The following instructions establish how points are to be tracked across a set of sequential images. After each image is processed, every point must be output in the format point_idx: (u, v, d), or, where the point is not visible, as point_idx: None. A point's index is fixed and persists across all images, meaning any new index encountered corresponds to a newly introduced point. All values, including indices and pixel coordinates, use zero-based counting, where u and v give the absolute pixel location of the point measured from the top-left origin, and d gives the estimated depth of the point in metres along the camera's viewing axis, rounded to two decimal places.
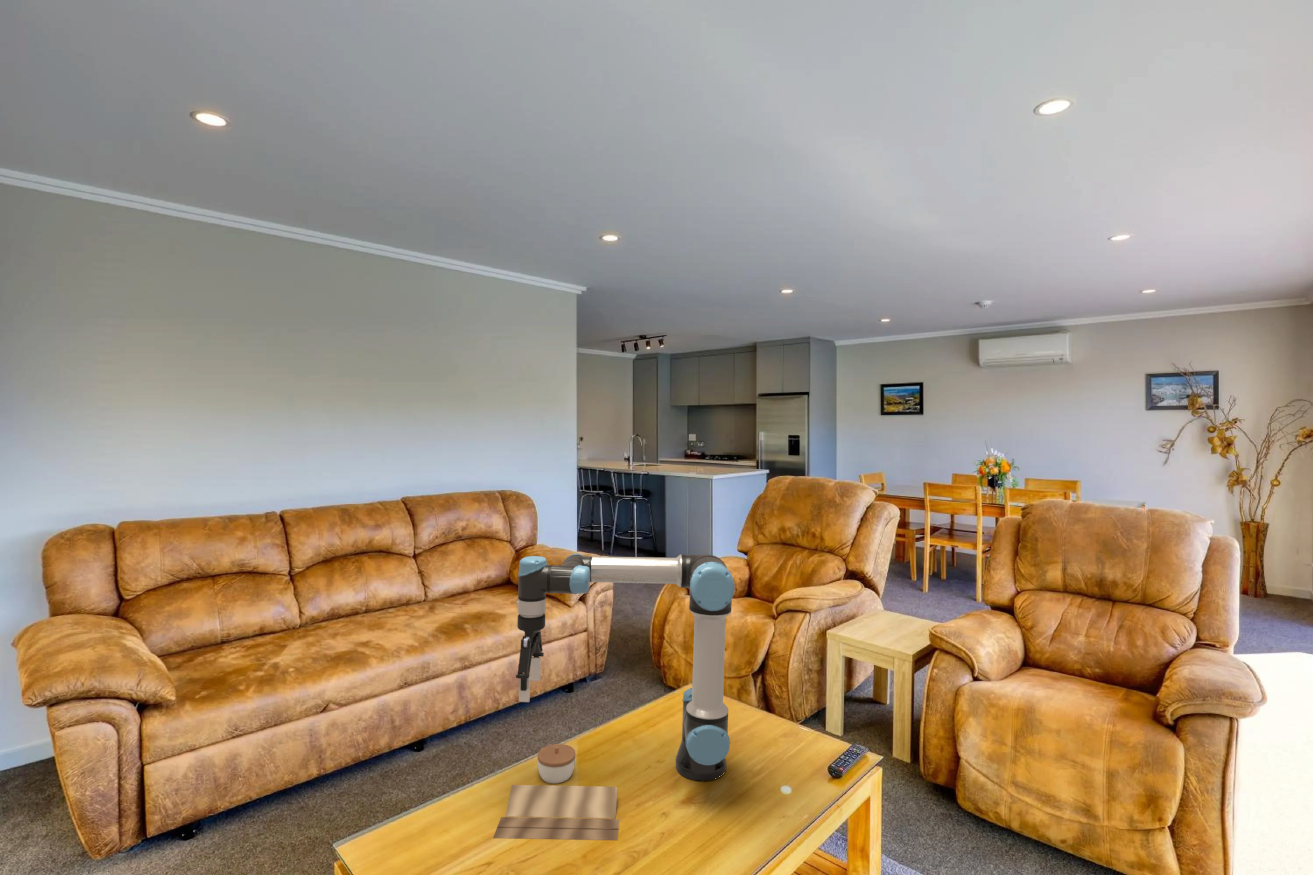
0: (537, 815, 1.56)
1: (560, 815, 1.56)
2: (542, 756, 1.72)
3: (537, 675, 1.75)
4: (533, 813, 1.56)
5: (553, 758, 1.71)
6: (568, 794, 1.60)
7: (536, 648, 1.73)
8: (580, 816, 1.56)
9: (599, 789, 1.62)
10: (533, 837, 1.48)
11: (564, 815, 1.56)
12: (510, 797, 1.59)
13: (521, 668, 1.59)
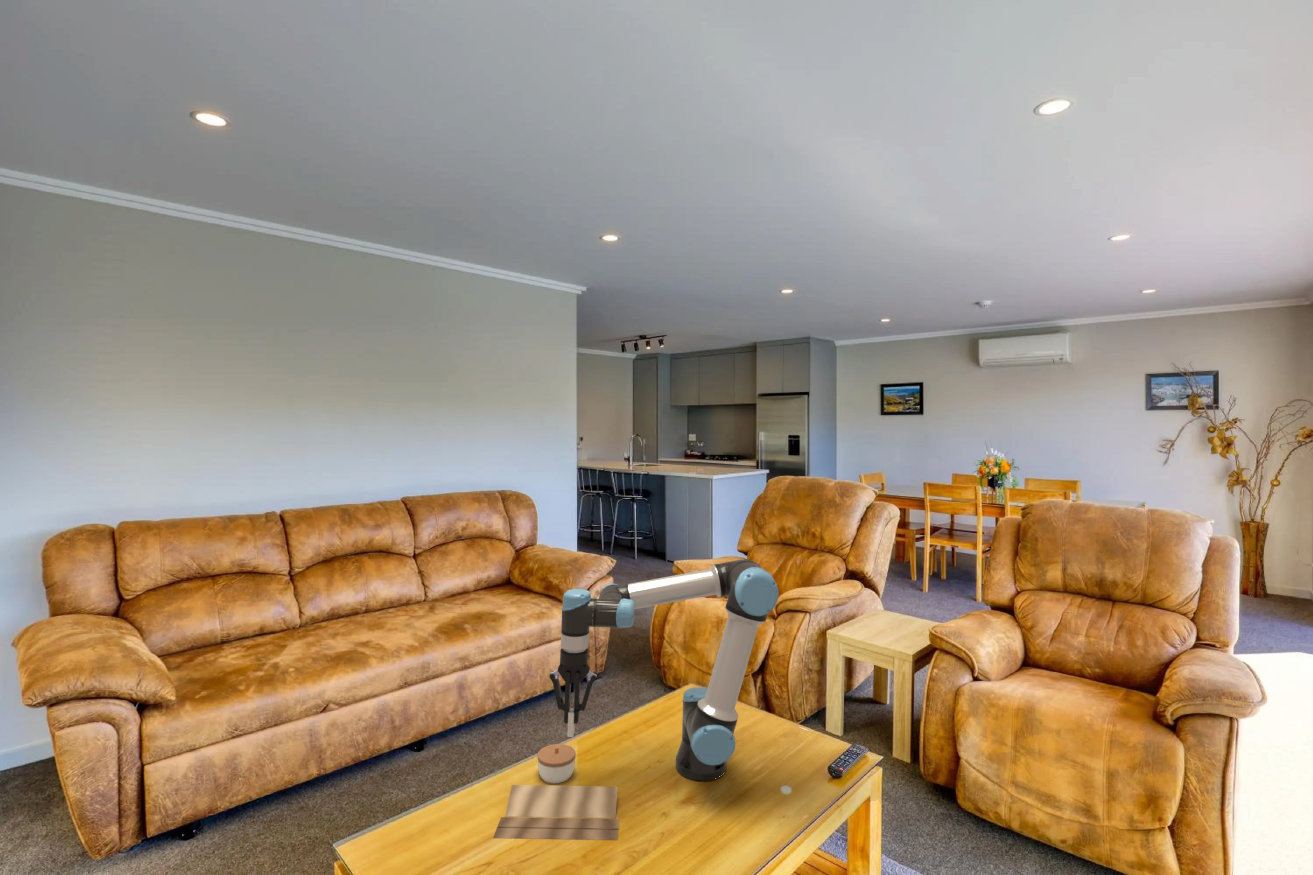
0: (537, 815, 1.56)
1: (560, 815, 1.56)
2: (542, 756, 1.72)
3: None
4: (533, 813, 1.56)
5: (553, 758, 1.71)
6: (568, 794, 1.60)
7: None
8: (580, 816, 1.56)
9: (599, 789, 1.62)
10: (533, 837, 1.48)
11: (564, 815, 1.56)
12: (510, 797, 1.59)
13: None
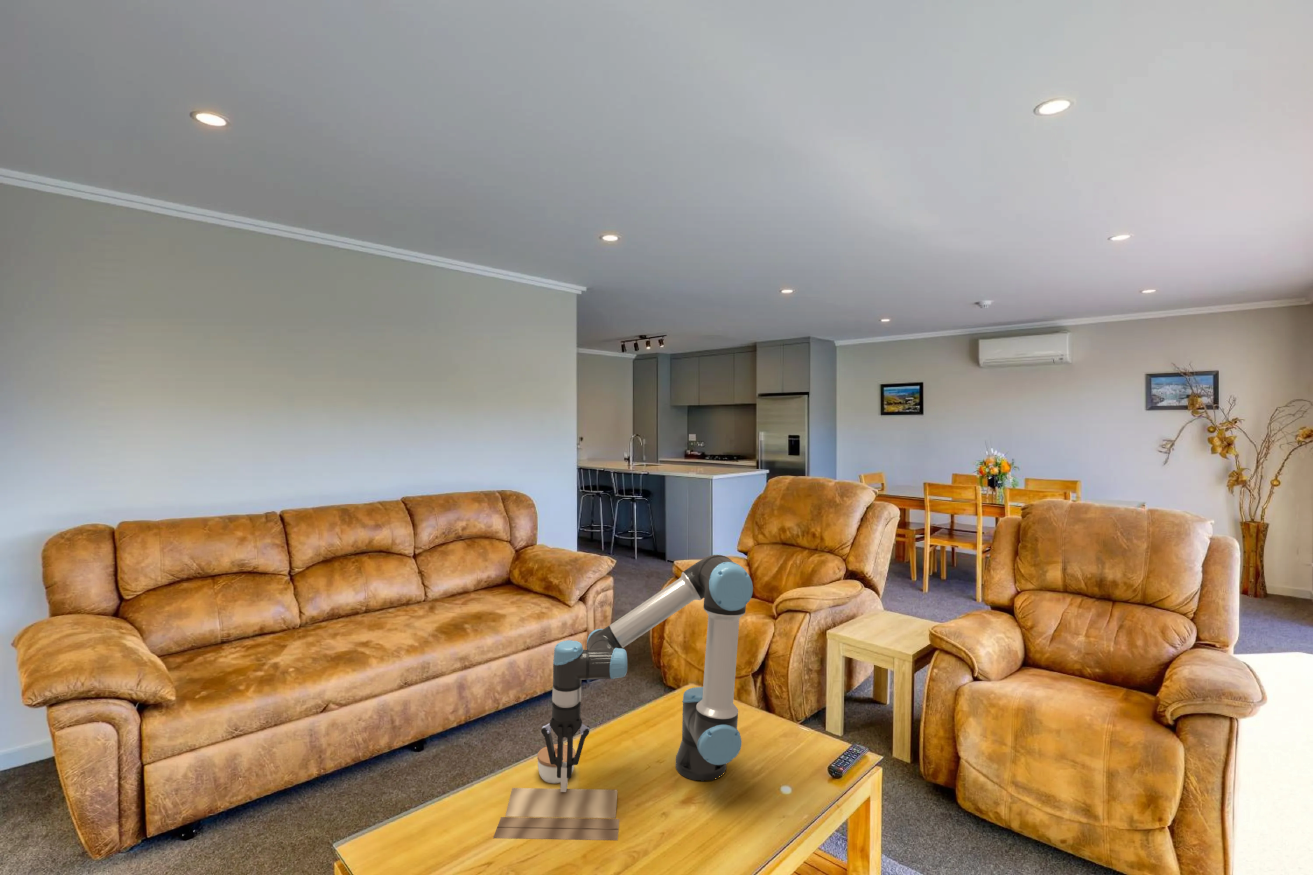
0: (537, 815, 1.56)
1: (560, 815, 1.56)
2: (542, 756, 1.72)
3: None
4: (533, 813, 1.56)
5: None
6: (568, 797, 1.61)
7: (567, 748, 1.62)
8: (580, 816, 1.56)
9: (599, 792, 1.62)
10: (533, 837, 1.48)
11: (564, 815, 1.56)
12: (510, 799, 1.60)
13: None
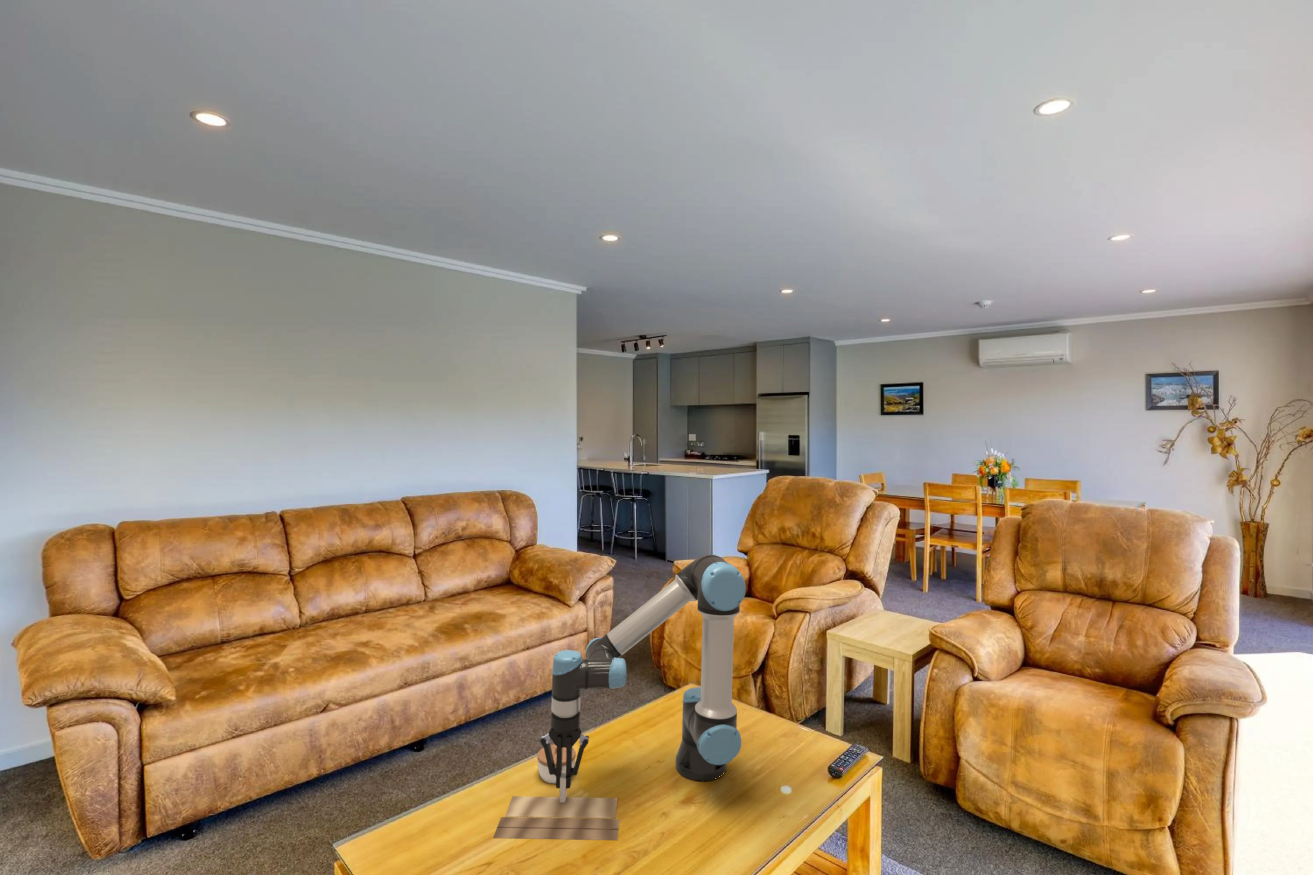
0: (537, 816, 1.56)
1: (560, 816, 1.56)
2: (542, 756, 1.72)
3: None
4: (533, 814, 1.56)
5: (553, 758, 1.71)
6: (568, 802, 1.61)
7: None
8: (580, 816, 1.56)
9: (599, 799, 1.63)
10: (533, 837, 1.48)
11: (564, 816, 1.56)
12: (510, 804, 1.60)
13: None
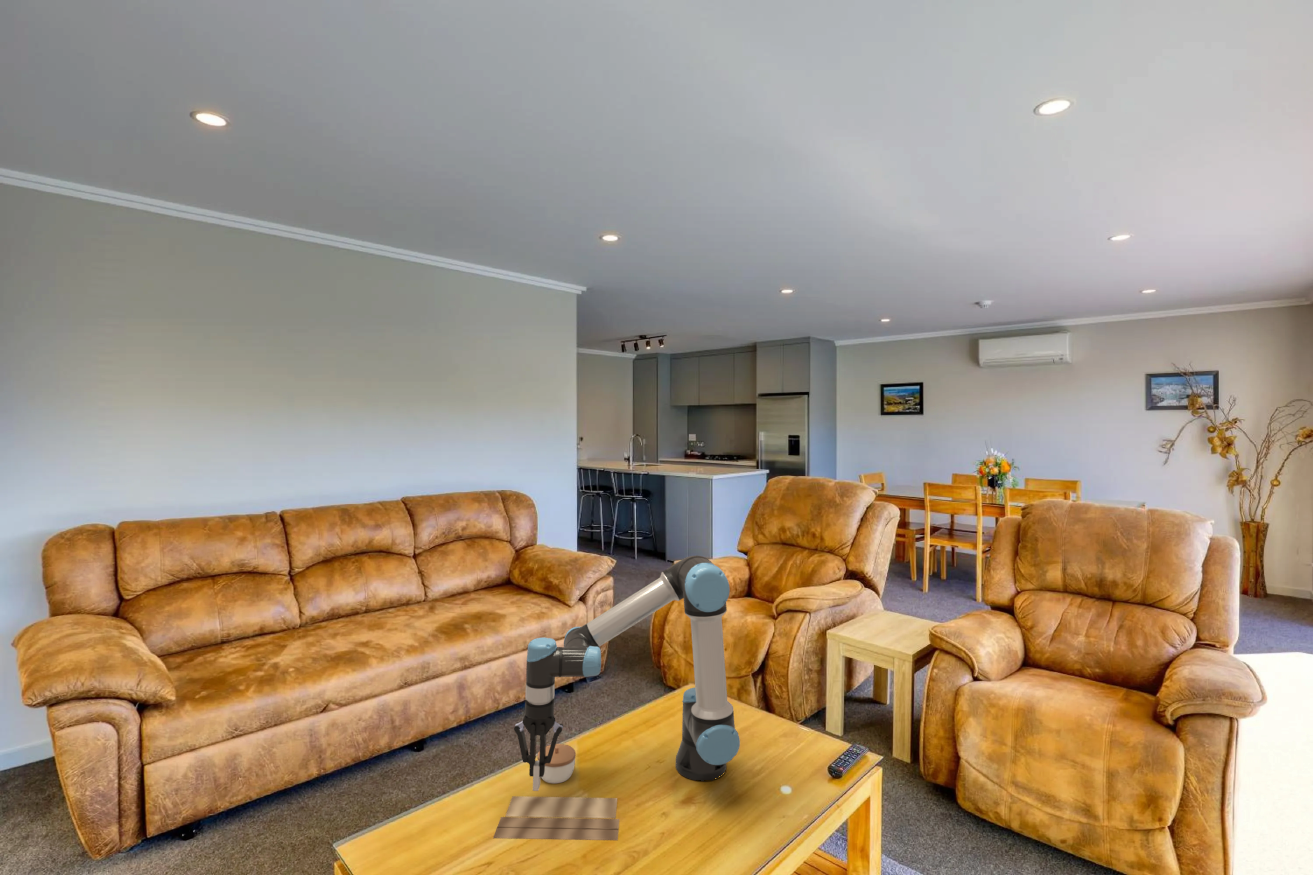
0: (537, 816, 1.56)
1: (560, 816, 1.56)
2: None
3: None
4: (533, 814, 1.56)
5: (553, 758, 1.71)
6: (568, 802, 1.61)
7: (540, 746, 1.61)
8: (580, 816, 1.56)
9: (599, 799, 1.63)
10: (533, 837, 1.48)
11: (564, 816, 1.56)
12: (510, 804, 1.60)
13: None
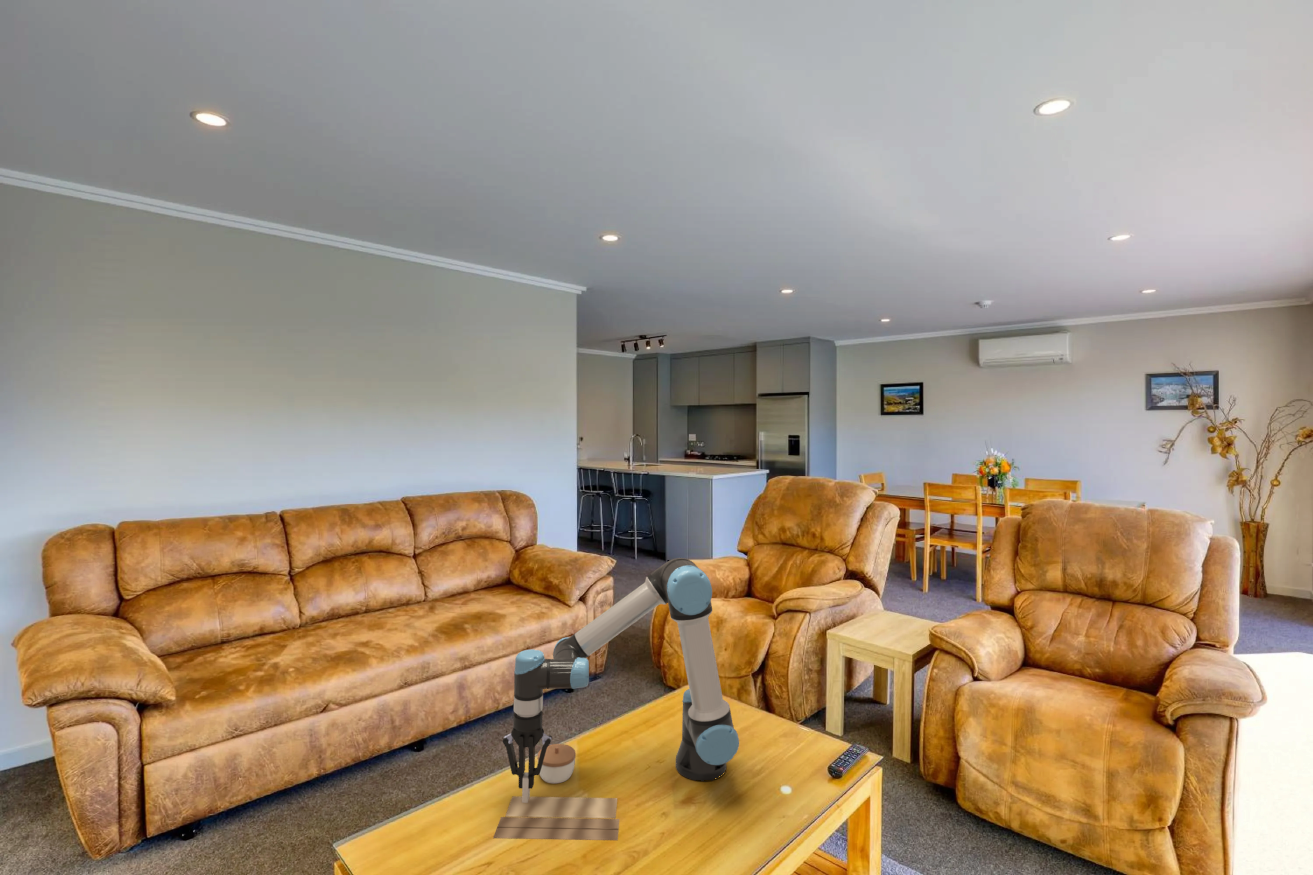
0: (537, 816, 1.56)
1: (560, 816, 1.56)
2: None
3: None
4: (533, 814, 1.56)
5: (553, 758, 1.71)
6: (568, 803, 1.61)
7: (529, 758, 1.61)
8: (580, 816, 1.56)
9: (599, 799, 1.63)
10: (533, 837, 1.48)
11: (564, 816, 1.56)
12: (510, 804, 1.60)
13: None
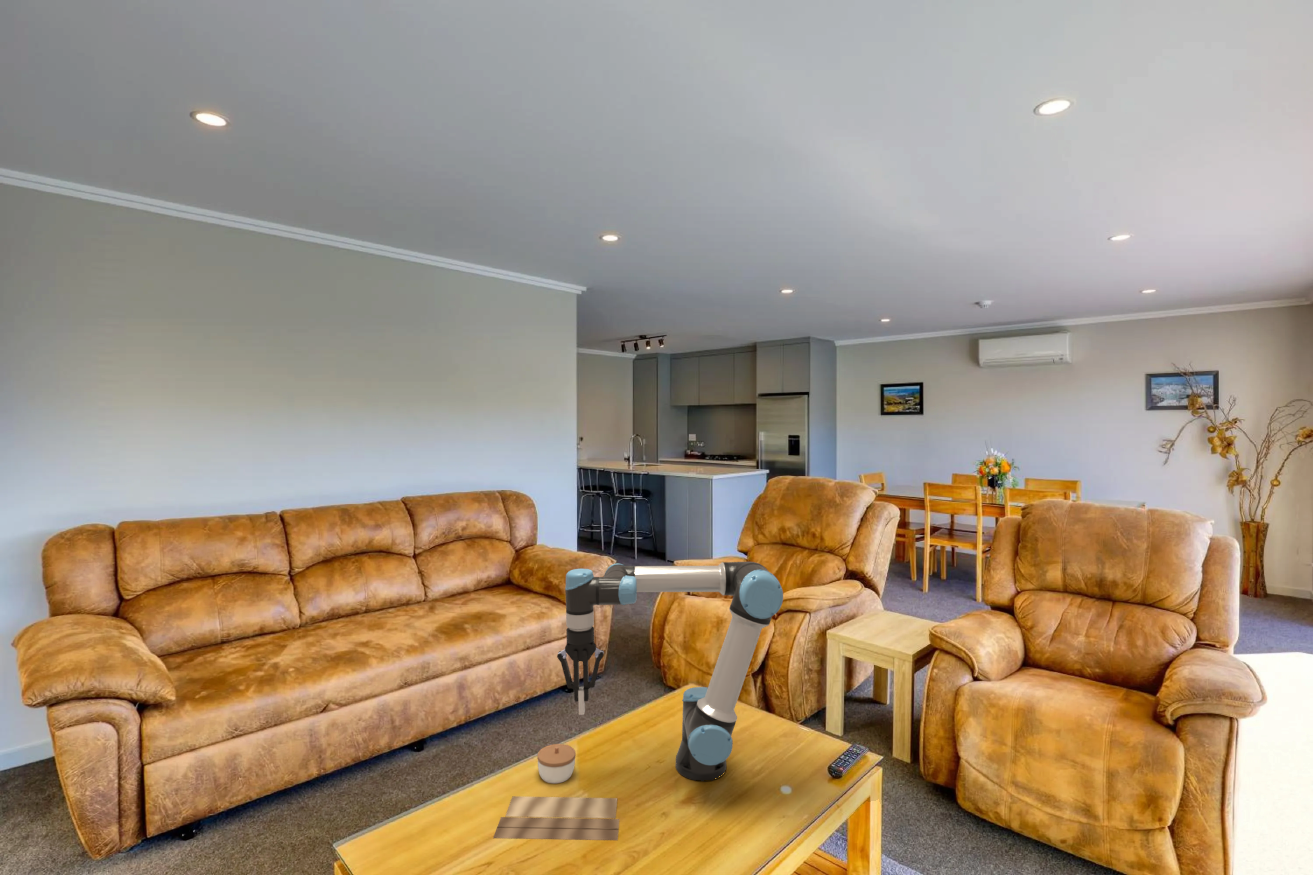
0: (537, 816, 1.56)
1: (560, 816, 1.56)
2: (542, 756, 1.72)
3: None
4: (533, 814, 1.56)
5: (553, 758, 1.71)
6: (568, 803, 1.61)
7: (583, 672, 1.67)
8: (580, 816, 1.56)
9: (599, 799, 1.63)
10: (533, 837, 1.48)
11: (564, 816, 1.56)
12: (510, 804, 1.60)
13: None
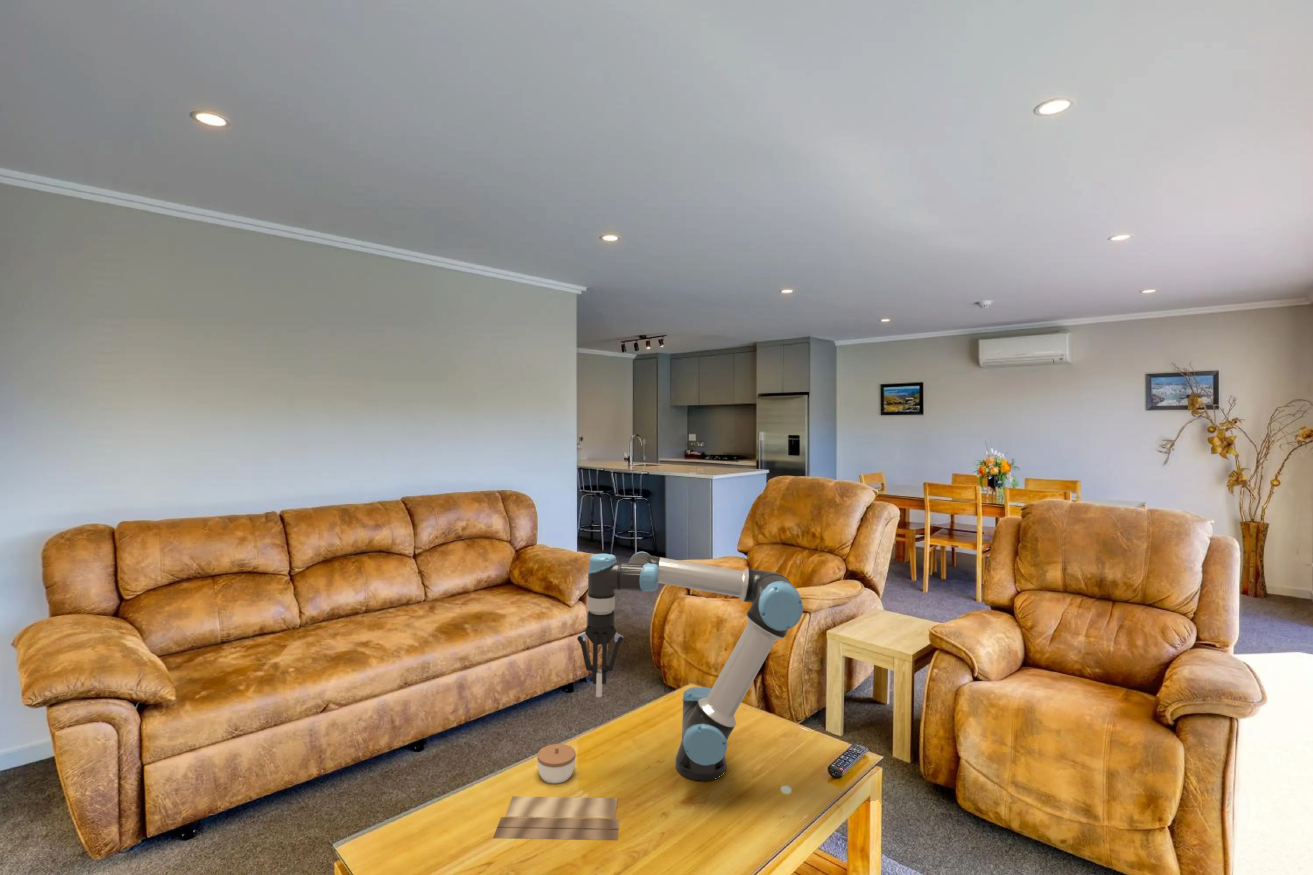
0: (537, 816, 1.56)
1: (560, 816, 1.56)
2: (542, 756, 1.72)
3: None
4: (533, 814, 1.56)
5: (553, 758, 1.71)
6: (568, 803, 1.61)
7: (602, 655, 1.70)
8: (580, 816, 1.56)
9: (599, 799, 1.63)
10: (533, 837, 1.48)
11: (564, 816, 1.56)
12: (510, 804, 1.60)
13: None
